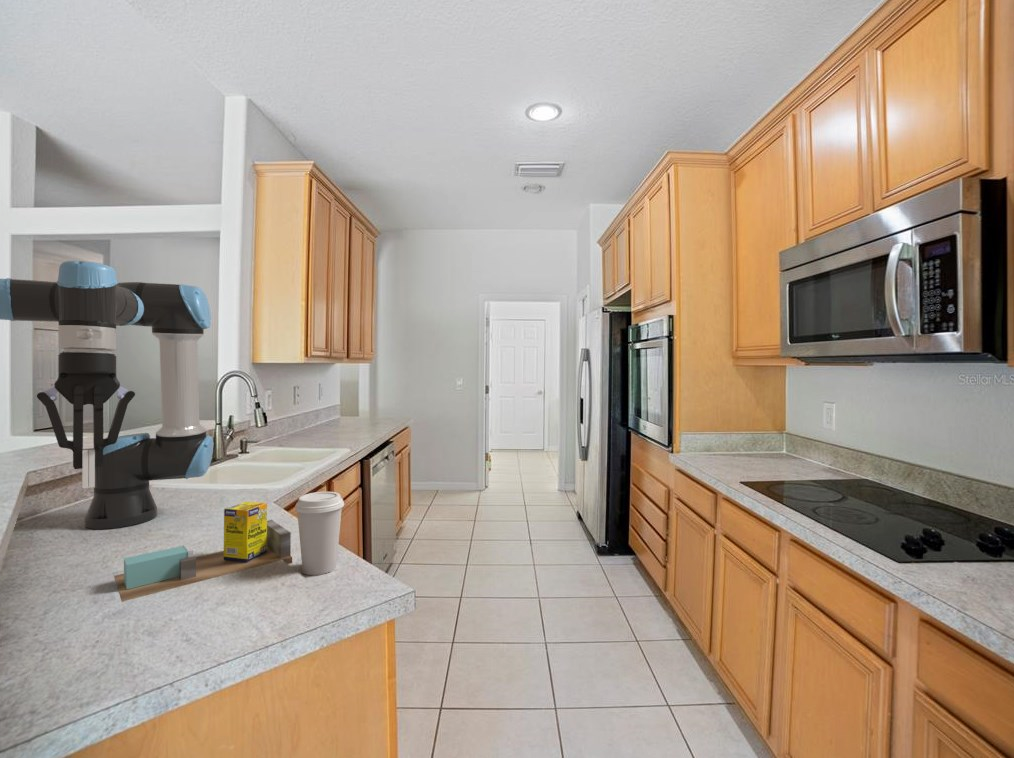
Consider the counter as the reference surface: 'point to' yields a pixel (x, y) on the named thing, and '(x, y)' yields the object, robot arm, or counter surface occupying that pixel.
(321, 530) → the coffee cup
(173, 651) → the counter surface
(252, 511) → the supplement box
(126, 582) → the teal rectangular block
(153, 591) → the rail base
